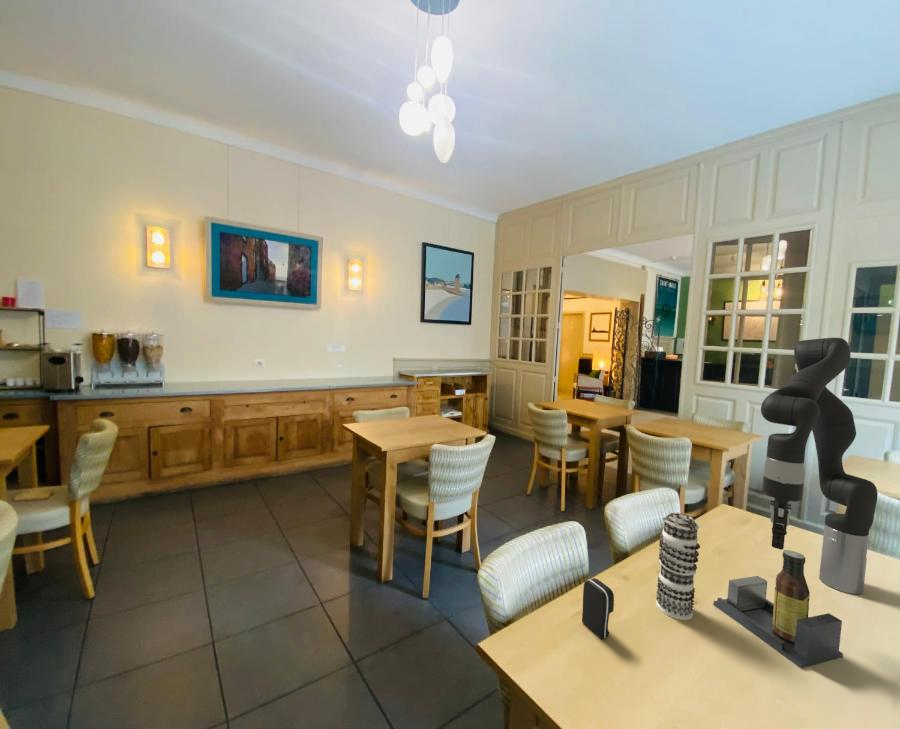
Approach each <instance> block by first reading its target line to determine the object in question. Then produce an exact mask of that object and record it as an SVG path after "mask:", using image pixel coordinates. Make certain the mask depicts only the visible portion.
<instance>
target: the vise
mask: <svg viewBox="0 0 900 729" xmlns="http://www.w3.org/2000/svg"><path fill="white" fill-rule="evenodd" d="M712 605H713V606H715V607H716V608H717V609H719V610H720V611H721V612H723V613H725V615H727V616H728V617H730V619H732V620H734V621H736V623H738V625H741V626H742V627H744V628H745V629H746V630H747V631H749V632H750V633H752V634H753V635H755V636H756V637H757V638H759V639H760V640H761V641H763V642H764V643H766V644H767V645H768V646H770V647H771V649H773V650H775V651H776V652H778V653H779V654H781V655H782V656H783V657H785V658H786V659H788V661H790V662H791V663H793V664H794V665H796V666H797V667H798V668H799V669H804V668H808V667H812V666H815V665H819V664H824V663H828V662H832V661H836V660H840V659H843V657H844V653H843V652H841V651H840V645H841V634H842V627H843V626H842V624H843V620H841V619H840V618H837V617H836V616H835V615H833V614H831V613H824V614H819V615H814V616H808V618H804V619H799V620H797V626H796V636H795V643H793V642H790V641H788V640H785V639H783V638H782V637H780V636H779V635H778V634H776V632H775V631H774V629H773V610H774V602H772V601H771V600H768V599H767V598H766V602H765V607H761V608H756V609H750V610H745V611H739V610H737V609H736V608H735V607H733V606H732V605H730V604H729V603H727V598H724V599H723V598H722V597H717V600H713V603H712Z"/></svg>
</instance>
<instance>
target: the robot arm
mask: <svg viewBox="0 0 900 729" xmlns="http://www.w3.org/2000/svg"><path fill="white" fill-rule="evenodd" d="M793 354H794V361H795V364H796V367H797V371H796V372H795V373H794V374H792V375H791V377H789V379H788V380H787V381H786V383H785V384H784V386H782V387H780V388H778V389H776V390H774V391H773V392H771V393H770V394H768V395H767V396H765V398H764V400H763V401H762V403H761V407H760V413H761V415H762V417H763V418H764V419H765V420H766V421H767V422H770V423H773V424H778V425H785V426H790V427H791V426H792V427H795V430H794V431H793V432H791V433H787V432H786V433H783V432H782V433H777V432H776V433H771V434H770V435H768V439H767V449H766V457H765V458H766V459H765V462H764V468H763V478H762V488H761V490H762V493H764V494H765V495H767V496H769V497H770V498H774V500H773V499H770V503H769V504H770V505H769V511H770V522H771V523H772V526H771V533H772V535H771V547H772V548H773V549H778V550H783V551H784V549H785V536H787V534H788V531H787V527H788V526H789V525H790V519H791V518H790V516H791V514H792V504H790V503H788V502H796V503H797V502H800V501H802V500H803V495H804V494H803V493H804V484H805V483H804V482H805V472H806V471H805V470H806V469H805V458H806V448H807V443H808V441H809V437H810V434H811V432H812V434H813V435H812V436H813V439H814V444H815V450H816V457H817V462H818V463H817V464H818V465H817V466H818V467H817V468H818V479H819V480H818V481H819V487H820V491H821V494H822V495H823V497H824V498H826V499H827V500H829V501H831V502H834V503H835V504H838V505H840V506H841V505H842V506H844V507H846V508H845V512H844V513H840V512H839V513H838V512H837V513H836V512H831V513H827V514H826V515H825V518H824V527H823V537H822V547H821V557H820V565H819V566H820V567H819V574H818V575H819V578H818V579H819V580H820V581H821V582H822V583H823V584H825V585H827V586H829V587H830V588H833V589H835V590H837V591H840V592H842V593H847V594H852V595H861V594H862V593H863V592H864V590H863V589H865V588H864V587H865V578H866V571H867V570H866V569H867V568H866V567H867V562H868V561H867V555H868V554H867V553H868V547H869V546H868V543H869V536H870V529H871V528H872V526H873V524H874V518H875V512H876V508H877V504H878V503H877V502H878V488H877V487H876V484H875V483H874V482H872V481H871V480H869V479H865V478H864V477H863V478H862V477H858V476H855V475H852V474H849V473H846V471H845V470H844V465H843V457H844V454H845V453H846V451H847V450H848V449H849V448H850V446H851V445H852V444H853V442H854V441H855V439H856V436H857V429H856V423H855V419H854V418H855V417H854V414H853V412H852V410H851V409H850V408H849V406H848V405H847V404H845V402H843V401H842V400H841V399H840V398H839V397H838V396H837V395H836V394H834V393H833V392H832V391H831V390H830V389H829V388H827V386H828V384H829V383H831V382H832V381H833V380H834V379H835V378H836V377H838V376H839V375H840V374H841V373H842V372H844V370H846V369H847V367H848V366H849V364H850V362H851V348H850V345H849V343H848V341H847V340H846V339H844V338H841V337H824V338H812V339H803V340H799V341H797V342H796V343H795V345H794V348H793Z"/></svg>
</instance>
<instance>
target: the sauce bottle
mask: <svg viewBox="0 0 900 729" xmlns="http://www.w3.org/2000/svg"><path fill="white" fill-rule="evenodd" d="M782 558H783V561H782V563H783V564H782V569H781V571H780V572H778V574H776V577H775V586H774V593H773V594H774V597H773V604H774V610H773V629H774V631H775V632H776V634H778V635H779V636H780V637H782V638H783V639H785V640H788V641H790V642H793V643H795V636H796V626H797V620H799V619H804V618H808V617H809V612H810V611H809V610H810V609H809V608H810V596H811V595H810V589H809V586H808V583H807V580H806V576H805V570H804V569H805V563H806V557H805V556H804V554H802V553H800V552H797V551H795V550H789V549H787V550H786V549H785V550H784V549H783V551H782Z"/></svg>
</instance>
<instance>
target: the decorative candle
mask: <svg viewBox="0 0 900 729" xmlns="http://www.w3.org/2000/svg"><path fill="white" fill-rule="evenodd" d="M662 520H663V521H664V523H663V528H662V532H661V533H660V535H659V554H658V555H659V557H658V560H659V564H660V570H659V576H658V577H657V589H656V597H655V599H656V601H655V604H656V607H657V609H658V610H659V611H660V612H662V613H663V614H664V615H666V616H668V617H670V618H672V619H676V620H681V621H688V620H690V619H692V618H693V613H694V612H693V611H694V609H693V608H694V606H695V604H694V602H695V601H694V599H695V592H696V588H695V580H694V577H695V576H694V575H695V574H696V573H697V569H698V567H697V563H698V562H699V558H698V557H699V556H700V553H699V551H698V550H699V549H700V548H701V545H700V543H698V541H699V540H698V538H699V537H698V530H699V529H700V525H699V524H698V523H697V522H696V521H695V520H694V518H693V517H692V516H689V515H688V514H685V513H682V512H681V513H680V512H670V513H668V514H667V515H665V516H663V519H662Z"/></svg>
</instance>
